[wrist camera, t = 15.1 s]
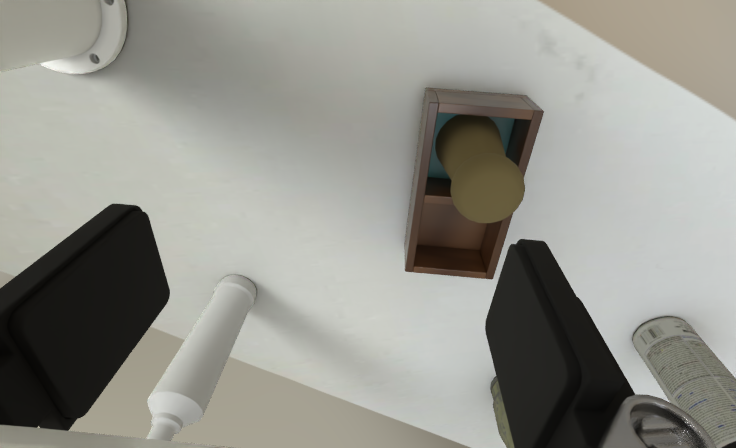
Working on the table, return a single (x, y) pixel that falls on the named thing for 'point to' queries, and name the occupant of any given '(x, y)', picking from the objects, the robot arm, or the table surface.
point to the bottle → (200, 359)
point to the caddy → (432, 185)
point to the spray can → (690, 376)
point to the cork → (479, 169)
